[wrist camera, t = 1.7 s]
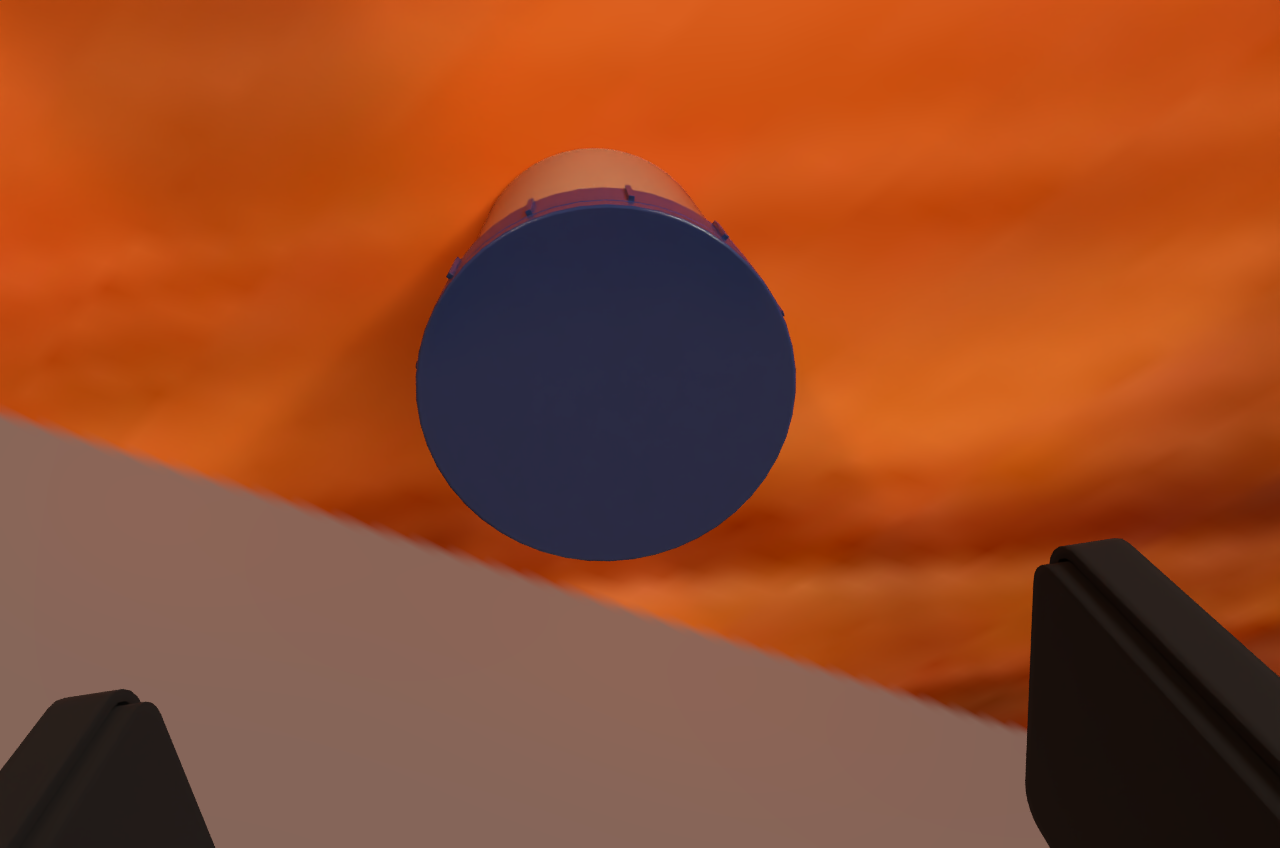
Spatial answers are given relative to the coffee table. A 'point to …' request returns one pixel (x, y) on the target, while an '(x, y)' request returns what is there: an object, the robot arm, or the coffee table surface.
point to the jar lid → (605, 376)
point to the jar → (586, 180)
